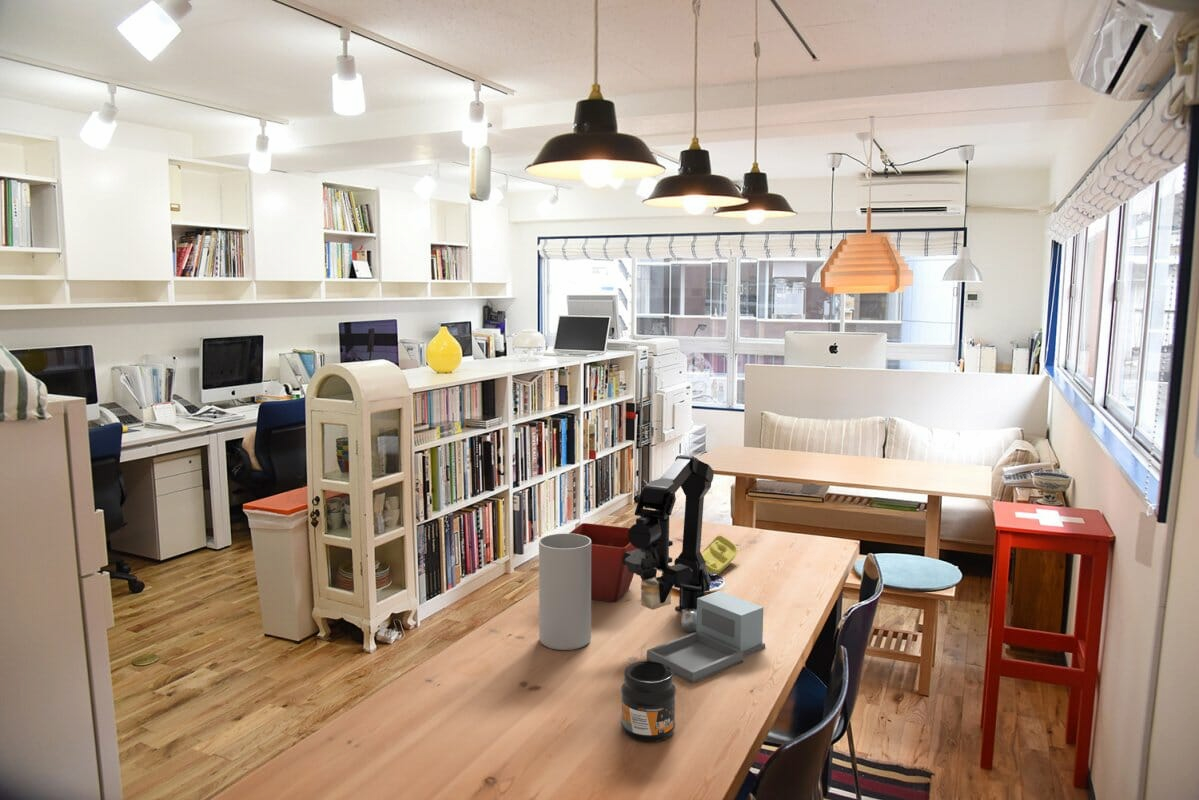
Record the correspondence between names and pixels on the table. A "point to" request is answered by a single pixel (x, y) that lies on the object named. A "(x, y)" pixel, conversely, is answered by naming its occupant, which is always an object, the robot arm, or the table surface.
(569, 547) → the cylinder vase
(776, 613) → the table surface
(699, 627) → the box
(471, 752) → the table surface
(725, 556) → the plastic component
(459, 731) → the table surface
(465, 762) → the table surface
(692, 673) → the parts tray
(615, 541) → the plant pot
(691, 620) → the chrome-capped short cylinder
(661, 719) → the supplement container
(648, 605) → the block
